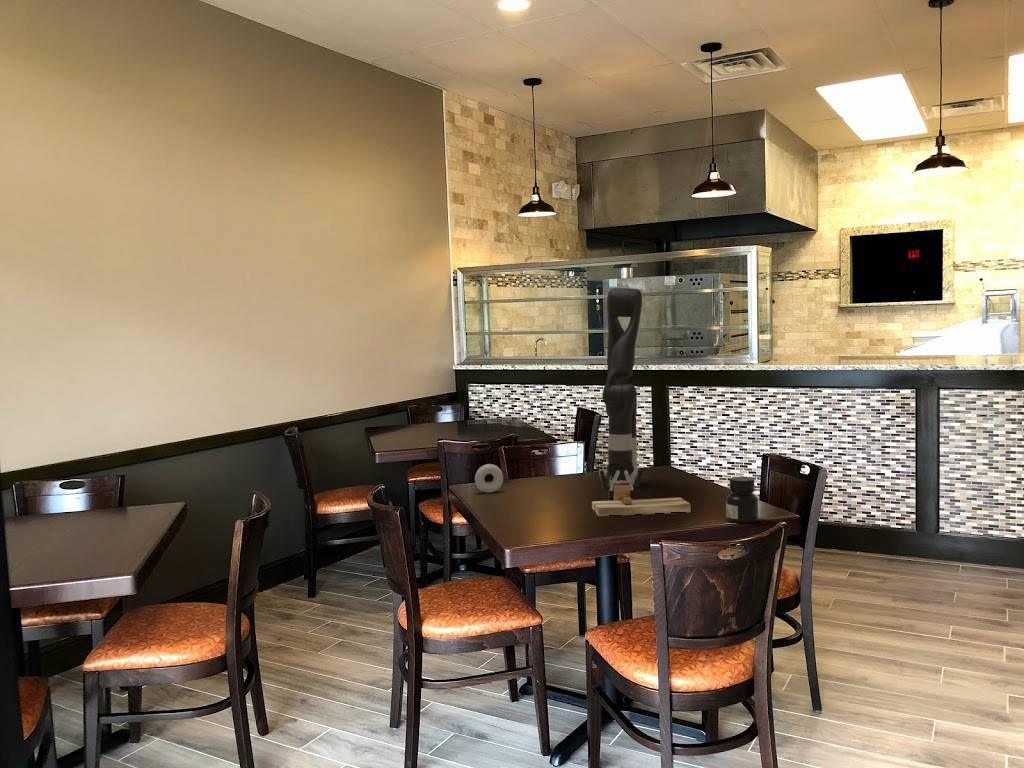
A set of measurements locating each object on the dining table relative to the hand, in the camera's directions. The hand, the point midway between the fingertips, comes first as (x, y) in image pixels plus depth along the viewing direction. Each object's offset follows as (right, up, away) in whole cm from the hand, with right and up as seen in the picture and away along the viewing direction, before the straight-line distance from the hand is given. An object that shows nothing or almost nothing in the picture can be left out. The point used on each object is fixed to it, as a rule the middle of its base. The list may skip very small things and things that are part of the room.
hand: (620, 501), depth 267 cm
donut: (-42, -1, +27) cm, 50 cm away
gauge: (0, -2, -4) cm, 4 cm away
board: (+5, -2, -7) cm, 9 cm away
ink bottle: (+32, -2, -22) cm, 39 cm away
